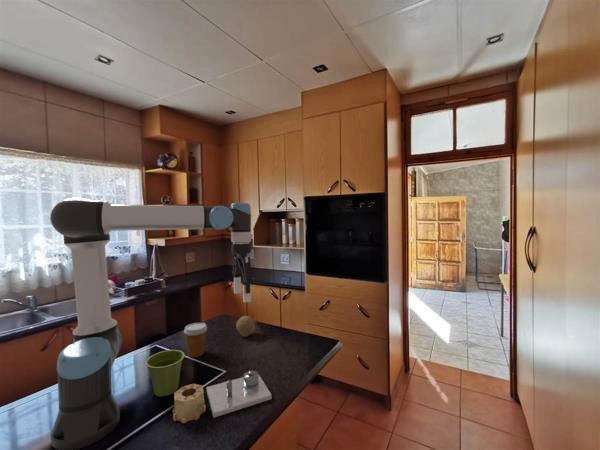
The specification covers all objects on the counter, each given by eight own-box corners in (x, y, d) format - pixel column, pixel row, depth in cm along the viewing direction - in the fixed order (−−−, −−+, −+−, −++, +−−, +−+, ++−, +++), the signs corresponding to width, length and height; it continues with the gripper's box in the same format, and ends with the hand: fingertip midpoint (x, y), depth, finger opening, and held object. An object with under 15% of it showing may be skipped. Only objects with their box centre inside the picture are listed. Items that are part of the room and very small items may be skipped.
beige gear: (173, 427, 78) (173, 405, 78) (172, 407, 86) (171, 388, 86) (207, 416, 82) (206, 396, 82) (203, 398, 90) (202, 380, 90)
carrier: (213, 417, 81) (212, 397, 81) (206, 391, 94) (206, 373, 94) (271, 399, 89) (271, 380, 89) (257, 377, 102) (257, 360, 102)
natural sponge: (236, 333, 142) (236, 313, 142) (254, 331, 144) (254, 312, 143) (236, 340, 133) (235, 319, 133) (255, 338, 135) (254, 318, 134)
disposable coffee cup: (179, 357, 118) (178, 329, 117) (194, 347, 127) (194, 321, 126) (198, 360, 114) (197, 331, 114) (212, 350, 123) (211, 323, 123)
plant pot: (138, 400, 90) (137, 366, 89) (161, 379, 101) (160, 349, 101) (172, 403, 88) (171, 368, 88) (192, 381, 100) (191, 350, 99)
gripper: (261, 244, 99) (262, 304, 99) (242, 240, 121) (242, 289, 121) (240, 245, 95) (241, 307, 96) (224, 241, 118) (225, 291, 118)
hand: (242, 297), depth 109 cm, fingers open, 13 cm apart
